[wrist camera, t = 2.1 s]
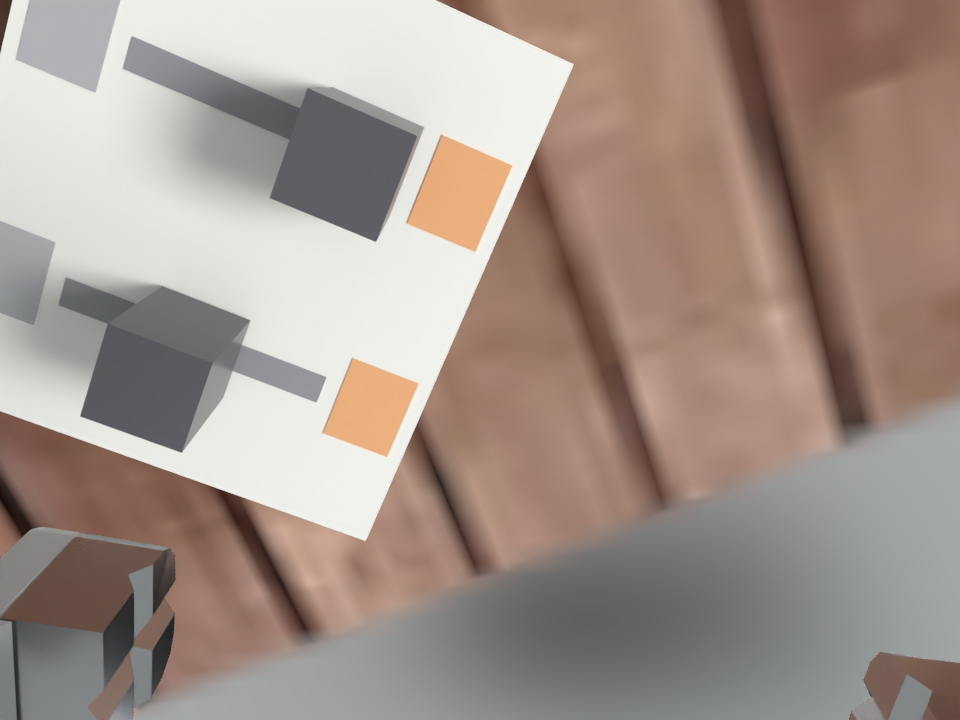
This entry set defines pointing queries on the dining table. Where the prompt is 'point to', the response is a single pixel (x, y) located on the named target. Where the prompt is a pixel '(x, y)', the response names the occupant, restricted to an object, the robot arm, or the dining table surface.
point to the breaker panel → (254, 221)
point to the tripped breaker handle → (164, 368)
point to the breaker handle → (346, 161)
